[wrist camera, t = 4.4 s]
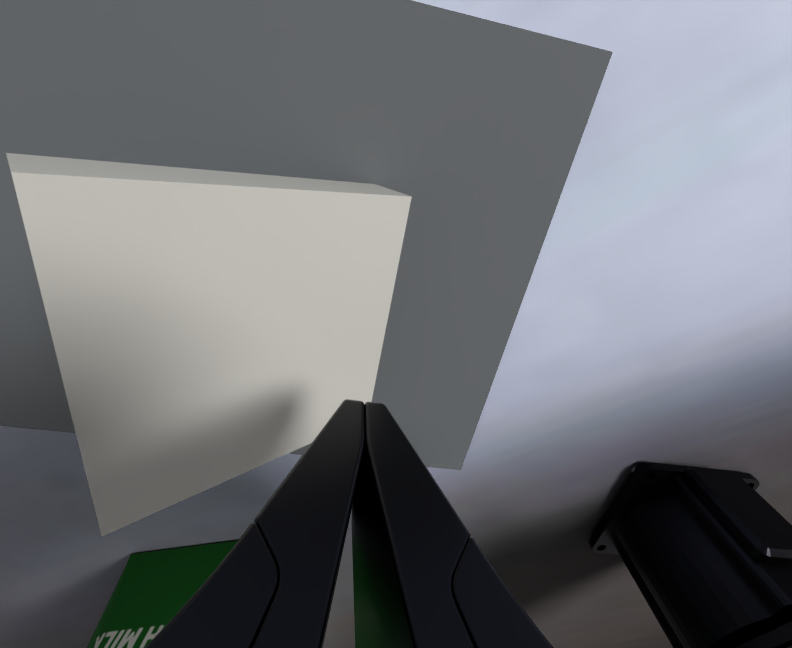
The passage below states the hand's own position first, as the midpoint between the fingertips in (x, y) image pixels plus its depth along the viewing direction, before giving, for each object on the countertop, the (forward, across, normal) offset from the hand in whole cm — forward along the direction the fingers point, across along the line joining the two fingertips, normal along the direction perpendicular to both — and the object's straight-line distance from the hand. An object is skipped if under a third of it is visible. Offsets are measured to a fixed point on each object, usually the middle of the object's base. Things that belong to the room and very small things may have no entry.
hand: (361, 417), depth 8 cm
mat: (+7, +4, 0) cm, 8 cm away
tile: (+5, 0, 0) cm, 5 cm away
